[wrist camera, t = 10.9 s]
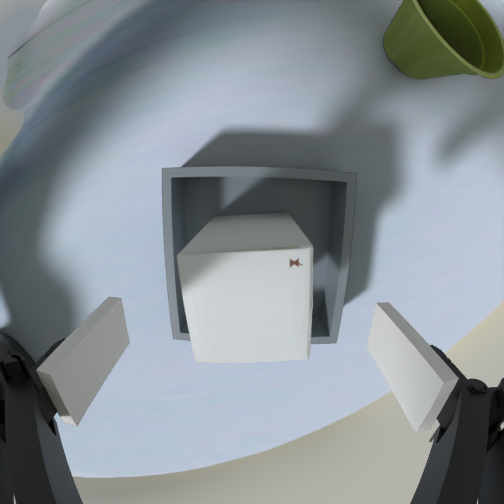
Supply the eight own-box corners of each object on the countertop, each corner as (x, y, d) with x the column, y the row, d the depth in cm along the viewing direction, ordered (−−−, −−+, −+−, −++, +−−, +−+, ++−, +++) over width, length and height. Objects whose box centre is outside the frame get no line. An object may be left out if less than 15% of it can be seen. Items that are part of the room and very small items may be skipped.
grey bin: (184, 315, 30) (173, 339, 25) (178, 169, 26) (161, 168, 21) (325, 318, 30) (336, 343, 25) (339, 173, 25) (356, 173, 21)
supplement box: (211, 214, 26) (173, 249, 14) (290, 211, 26) (318, 243, 14) (218, 287, 28) (191, 364, 16) (291, 284, 28) (312, 362, 16)
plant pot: (397, 109, 23) (461, 85, 12) (344, 19, 21) (379, -37, 10) (462, 91, 22) (522, 74, 11) (417, 12, 19) (461, -26, 8)
